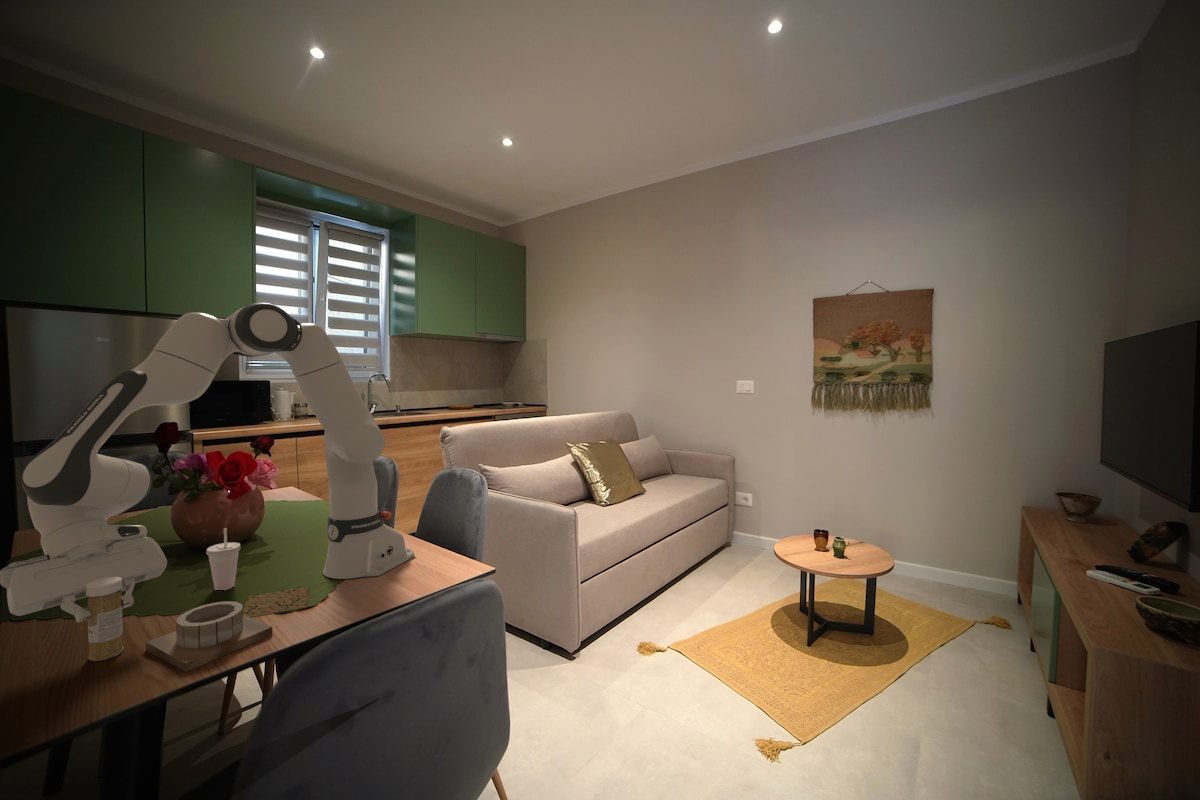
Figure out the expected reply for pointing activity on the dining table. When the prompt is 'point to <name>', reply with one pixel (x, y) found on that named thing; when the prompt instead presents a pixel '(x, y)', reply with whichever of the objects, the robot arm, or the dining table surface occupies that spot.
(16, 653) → the dining table surface
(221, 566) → the smoothie
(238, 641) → the collar stand
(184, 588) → the dining table surface
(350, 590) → the dining table surface
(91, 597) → the sprinkles bottle
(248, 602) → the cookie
